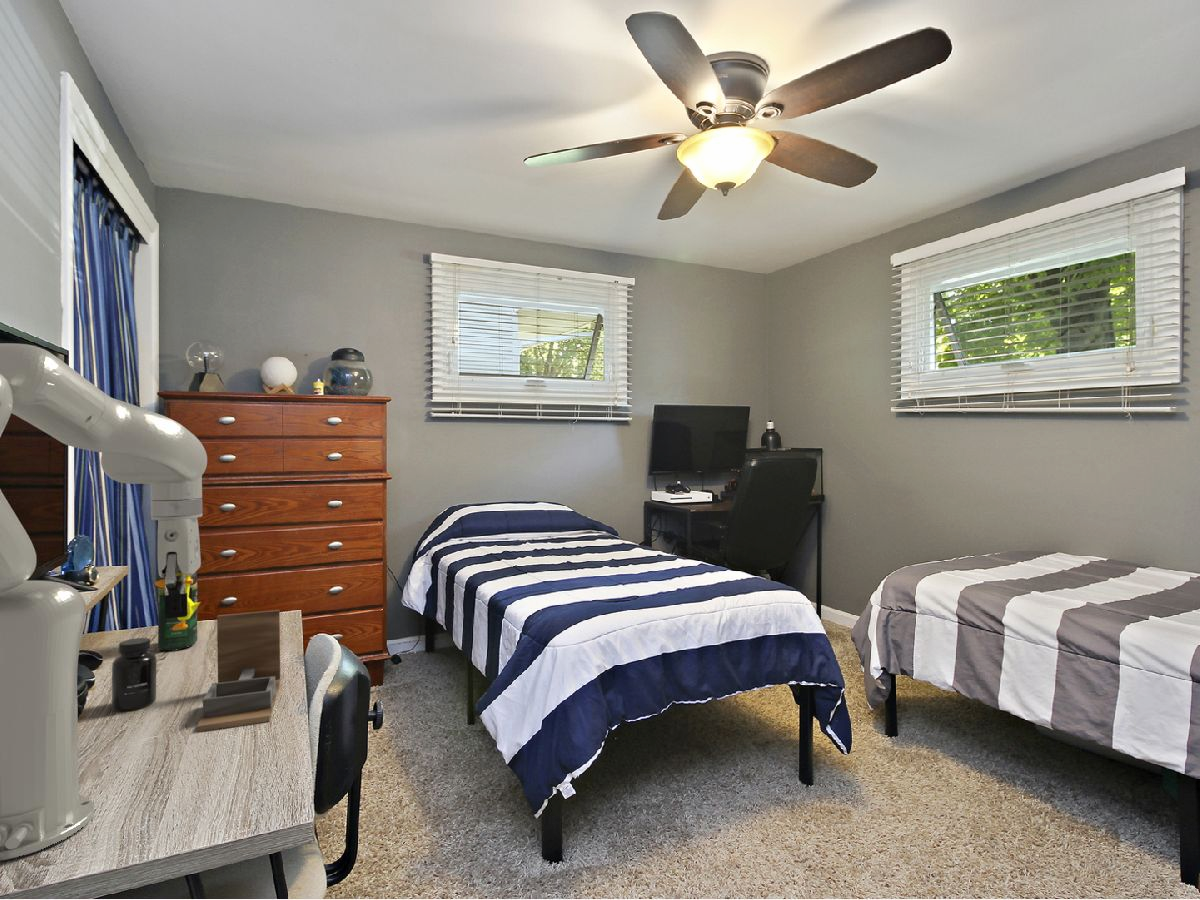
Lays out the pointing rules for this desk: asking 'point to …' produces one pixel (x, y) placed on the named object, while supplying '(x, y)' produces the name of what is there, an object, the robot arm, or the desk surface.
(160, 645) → the coffee jar
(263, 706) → the open wooden box
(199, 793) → the desk surface
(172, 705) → the desk surface
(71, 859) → the desk surface
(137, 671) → the supplement bottle
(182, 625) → the toy figure
